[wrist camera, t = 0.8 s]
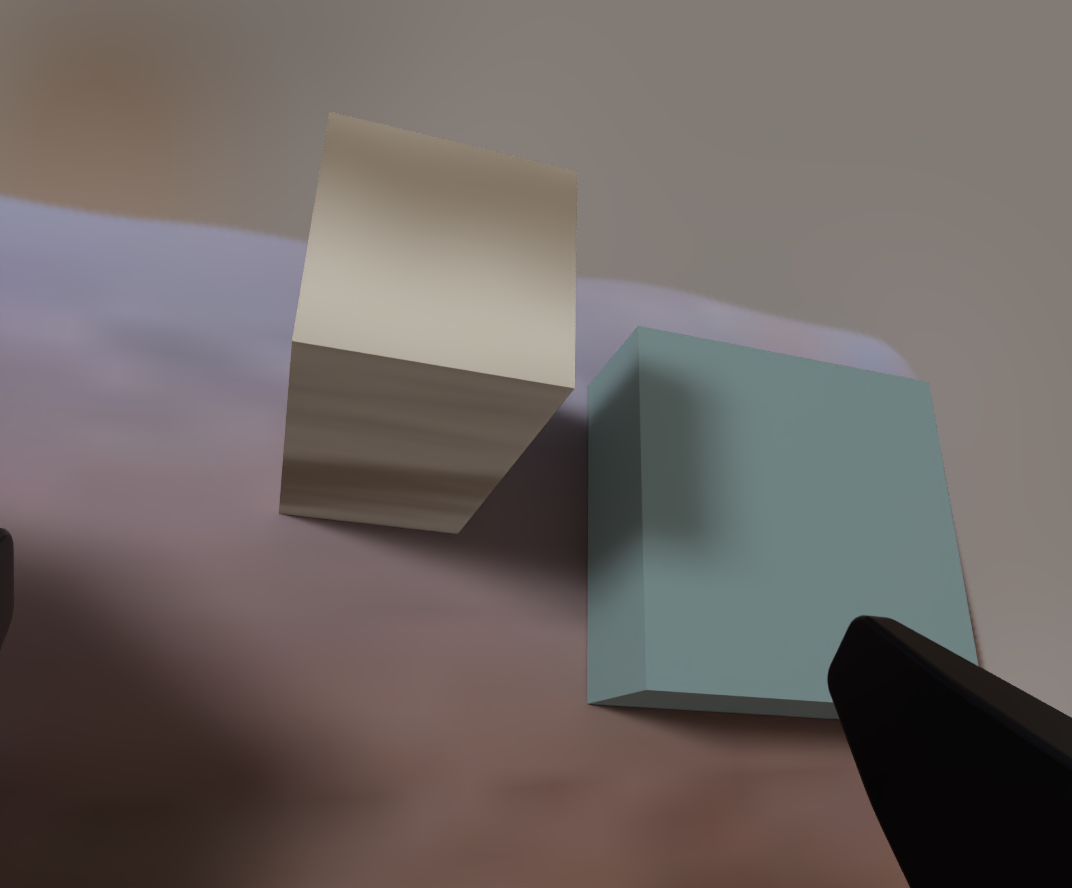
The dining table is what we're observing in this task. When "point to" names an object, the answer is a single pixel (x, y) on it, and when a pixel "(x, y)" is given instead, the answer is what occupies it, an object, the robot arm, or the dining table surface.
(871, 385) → the base block
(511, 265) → the cream block
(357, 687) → the dining table surface
